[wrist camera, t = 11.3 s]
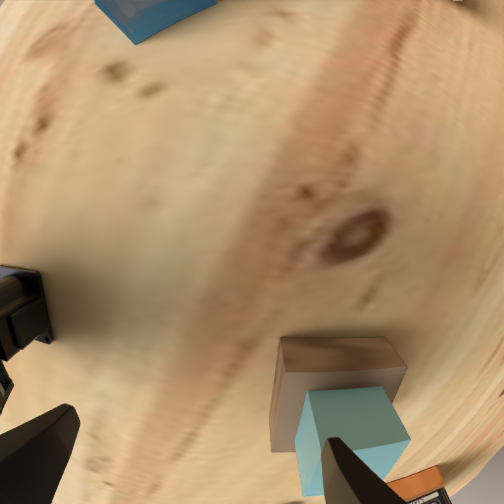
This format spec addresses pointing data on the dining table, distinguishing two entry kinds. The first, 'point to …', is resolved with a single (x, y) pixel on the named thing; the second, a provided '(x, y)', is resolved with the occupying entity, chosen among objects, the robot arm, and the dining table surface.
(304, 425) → the teal block
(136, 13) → the perfume bottle
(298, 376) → the walnut block
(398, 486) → the whiskey bottle
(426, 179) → the dining table surface
